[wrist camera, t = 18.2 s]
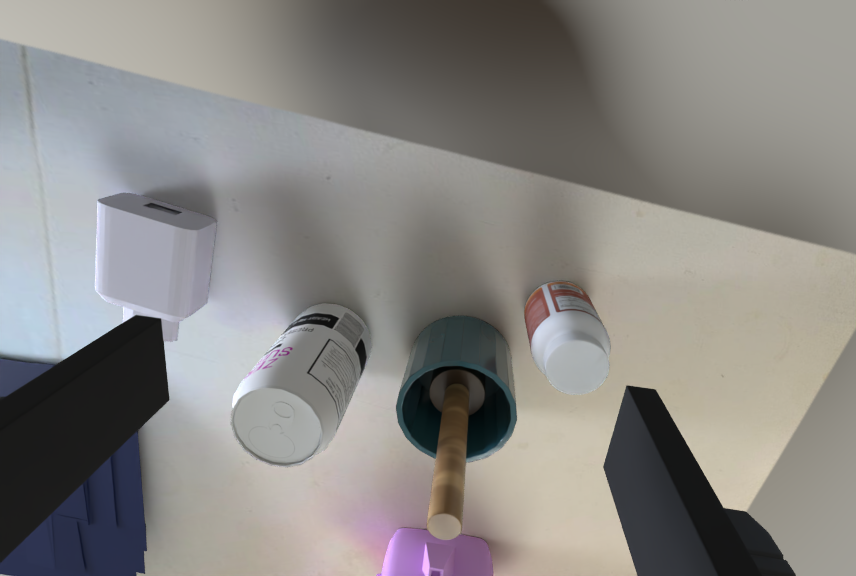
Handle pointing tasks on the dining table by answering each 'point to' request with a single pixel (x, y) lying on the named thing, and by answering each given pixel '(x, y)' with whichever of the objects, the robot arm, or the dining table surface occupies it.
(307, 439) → the supplement can
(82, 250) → the dining table surface
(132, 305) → the charger
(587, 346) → the pill bottle
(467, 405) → the brush
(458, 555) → the teakettle
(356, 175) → the dining table surface
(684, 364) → the dining table surface
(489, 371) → the jar
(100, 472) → the dark blue flat slab
